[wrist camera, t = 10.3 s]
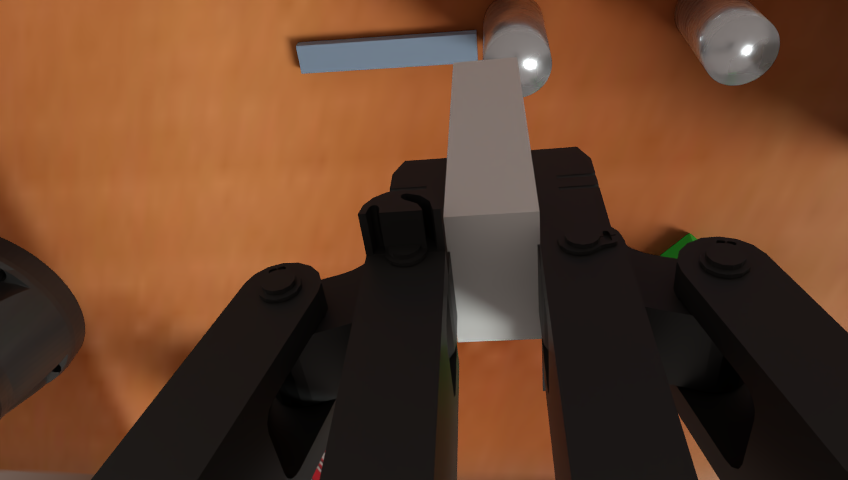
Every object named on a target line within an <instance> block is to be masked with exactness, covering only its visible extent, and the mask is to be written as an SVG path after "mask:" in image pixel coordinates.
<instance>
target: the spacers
mask: <svg viewBox="0 0 848 480" xmlns="http://www.w3.org/2000/svg"><path fill="white" fill-rule="evenodd" d="M674 17H675V23H676V26H677V28H678V30H679V31H680V33H681V34H682V36H683V37H684V39H685V40H686V42H687V43H688V44H689V46H690V47H691V49H692V50H693V52H694V53H695V55H696V56H697V58H698V59H699V61H700V62H701V64H702V65H703V66H704V68H705V69H706V71H707V72H708V74H709V75H710V76H711V77H712V78H713V79H714V80H715V81H717V82H719V83H721V84H725V85H742V84H746V83H749V82H751V81H753V80H755V79H757V78H759V77H760V76H761V75H763V74H764V73H765V72H766V71H767V70H768V69H769V68H770V67H771V66H772V64H773V63H774V61H775V59H776V57H777V55H778V52H779V47H780V38H779V34H778V31H777V30H776V28H775V27H774V25H773V24H772V23H771V22H770V21H769V20H768V19H767V18H765V17H764V16H763V15H762V14H761V13H760V12H759V11H758V10H757V9H756V8H755V7H754V6H753V5H752V4H751V3H750V2H749V1H748V0H678V3H677V5H676V8H675V16H674ZM512 57H517V60H518V67H519V74H520V81H521V87H522V94H523V97H526V96H528V95H531V94H533V93H535V92H536V91H538V90H539V89H540V88H541V87H542V86H543V85H544V84H545V82H546V81H547V79H548V77H549V75H550V72H551V68H552V59H551V54H550V49H549V44H548V39H547V34H546V30H545V25H544V20H543V15H542V12H541V9H540V7H539V6H538V4H537V3H536V2H535V1H534V0H495V1H494V2H493V3H492V4H491V5H490V6H489V8H488V10H487V11H486V14H485V17H484V25H483V60H490V59H501V58H512Z"/></svg>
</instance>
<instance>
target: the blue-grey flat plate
mask: <svg viewBox="0 0 848 480" xmlns="http://www.w3.org/2000/svg"><path fill="white" fill-rule="evenodd" d="M296 49H297V54H298V59H299V63H300V68H301V73H302V74H303V73H319V72H335V71H350V70H366V69H382V68H397V67H413V66H429V65H444V64H453V63H456V62H467V61H478V54H477V34H476V30H469V31H455V32H440V33H426V34H412V35H397V36H383V37H368V38H354V39H340V40H325V41H311V42H298V44H297V45H296Z"/></svg>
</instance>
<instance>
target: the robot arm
mask: <svg viewBox="0 0 848 480" xmlns="http://www.w3.org/2000/svg"><path fill="white" fill-rule="evenodd" d="M358 217H359V222H360V227H361V231H362V236H363V241H364V246H365V251H366V260H365V264H363V265H362V266H360V267H358V268H356V269H354V270H352V271H349V272H346V273H344V274H341V275H337V276H333V277H330V278H326V279H322V280H321V279H320V275H319V272H317V271H316V270H315V269H314V268H313V267H311V266H309V265H305V264H301V263H283V264H279V265H275V266H271V267H268V268H266V269H264V270H262V271H260V272H258V273H256V274H255V275H254V276H252V277H251V278H250V279H249V280H248V281H247V282H246V283H245V284H244V285H243V286H242V288H241V289H240V290H239V291H238V293H237V294H236V295H235V297H234V298H233V299H232V300H231V302H230V303H229V304H228V306H227V307H226V308H225V309H224V311H223V312H222V313H221V314H220V316H219V317H218V318H217V320H216V321H215V322H214V323H213V325H212V326H211V327H210V329H209V330H208V331H207V332H206V334H205V335H204V336H203V337H202V339H201V340H200V341H199V343H198V344H197V345H196V346H195V348H194V349H193V350H192V352H191V353H190V354H189V355H188V357H187V358H186V359H185V360H184V362H183V363H182V364H181V366H180V367H179V368H178V369H177V371H176V372H175V373H174V375H173V376H172V377H171V378H170V380H169V381H168V382H167V383H166V385H165V386H164V387H163V389H162V390H161V391H160V392H159V394H158V395H157V396H156V397H155V399H154V400H153V401H152V403H151V404H150V405H149V406H148V408H147V409H146V410H145V412H144V413H143V414H142V415H141V417H140V418H139V419H138V420H137V422H136V423H135V424H134V426H133V427H132V428H131V429H130V431H129V432H128V433H127V435H126V436H125V437H124V438H123V440H122V441H121V442H120V443H119V445H118V446H117V447H116V449H115V450H114V451H113V452H112V454H111V455H110V456H109V458H108V459H107V460H106V461H105V463H104V464H103V465H102V466H101V468H100V469H99V470H98V472H97V473H96V474H95V475H94V477H93V478H92V479H91V480H311V479H312V477H313V475H314V473H315V471H316V469H317V467H318V465H319V463H320V460H321V458H322V456H323V454H324V452H325V455H324V460H323V465H322V470H321V475H320V479H319V480H457V447H458V396H459V359H458V350H457V337H458V342H473V341H498V340H522V339H542V367H543V391H546V398H547V407H548V416H549V425H550V434H551V443H552V452H553V461H554V470H555V479H556V480H698V478H697V474H696V471H695V468H694V465H693V461H692V458H691V455H690V452H689V448H688V445H687V442H686V439H685V435H684V432H683V429H682V426H681V422H680V419H679V416H680V417H681V419H682V420H683V422H684V424H685V425H686V427H687V428H688V430H689V432H690V433H691V435H692V436H693V438H694V439H695V441H696V443H697V444H698V446H699V447H700V449H701V451H702V452H703V454H704V455H705V457H706V458H707V460H708V462H709V463H710V465H711V466H712V468H713V470H714V471H715V473H716V474H717V476H718V477H719V479H720V480H848V332H847V331H845V330H844V329H843V328H842V327H841V326H840V325H839V324H838V323H837V322H836V321H835V320H834V319H833V318H832V317H831V316H830V315H829V314H828V313H827V312H826V311H825V310H824V309H823V308H822V307H821V306H820V305H819V304H818V303H817V302H815V301H814V300H813V299H812V298H811V297H810V296H809V295H808V294H807V293H806V292H805V291H804V290H803V289H802V288H801V287H800V286H799V285H798V284H797V283H796V282H795V281H794V280H793V279H792V278H791V277H790V276H789V275H788V274H787V273H785V272H784V271H783V270H782V269H781V268H780V267H779V266H778V265H777V264H776V263H775V262H774V261H773V260H772V259H771V258H770V257H769V256H768V255H767V254H766V253H764V252H763V251H761V250H760V249H758V248H757V247H755V246H754V245H752V244H749V243H746V242H743V241H741V240H738V239H732V238H725V237H708V238H700V239H697V240H695V241H692V242H689V243H687V244H686V245H685V246H684V247H683V248H682V249H681V250H680V251H679V254H678V258H677V259H676V258H670V257H663V256H656V255H651V254H647V253H642V252H640V251H637V250H635V249H632V248H630V247H628V246H627V245H626V244H625V240H624V239H623V237H622V236H621V234H620V233H619V231H617V230H615V229H614V228H612V227H611V225H610V222H609V219H608V215H607V212H606V208H605V205H604V202H603V198H602V195H601V191H600V188H599V186H598V181H597V178H596V176H595V171H594V167H593V164H592V161H591V158H590V157H588V156H587V155H586V154H585V153H584V152H582V151H581V150H580V149H579V148H578V147H568V148H554V149H540V150H531V149H530V142H529V135H528V129H527V122H526V115H525V108H524V101H523V94H522V87H521V81H520V74H519V67H518V60H517V57H512V58H501V59H490V60H478V61H467V62H456V63H453V77H452V92H451V107H450V123H449V138H448V153H447V158H441V159H428V160H414V161H405V162H404V163H403V164H402V165H401V166H400V167H399V168H398V169H397V170H396V171H395V172H394V174H393V175H392V180H391V186H390V191H389V192H387V193H384V194H382V195H379V196H376V197H374V198H372V199H371V200H370V201H368V202H367V203H366V204H364V205H363V206H362V208H361V210H360V212H359V213H358ZM84 337H85V322H84V317H83V314H82V311H81V308H80V306H79V304H78V302H77V300H76V298H75V297H74V295H73V294H72V292H71V291H70V289H69V288H68V287H67V285H66V284H65V283H64V282H63V281H62V279H61V278H60V277H59V276H58V275H57V274H56V273H55V272H54V271H53V270H51V269H50V268H49V267H48V266H47V265H46V264H44V263H43V262H42V261H41V260H39V259H38V258H37V257H35V256H34V255H32V254H31V253H29V252H28V251H26V250H24V249H23V248H21V247H19V246H17V245H16V244H14V243H12V242H10V241H8V240H5V239H3V238H1V237H0V419H1V418H2V417H3V416H4V415H5V414H7V413H8V412H9V411H11V410H12V409H14V408H15V407H16V406H18V405H19V404H20V403H22V402H23V401H24V400H26V399H27V398H29V397H30V396H31V395H33V394H34V393H35V392H37V391H38V390H39V389H41V388H42V387H43V386H44V385H45V384H47V383H48V382H50V381H52V380H53V379H55V378H56V377H57V376H59V375H60V374H61V373H62V372H63V371H64V370H65V369H66V368H67V367H68V365H69V364H70V363H71V361H72V360H73V358H74V357H75V355H76V354H77V352H78V351H79V350H80V348H81V346H82V344H83V341H84ZM678 414H679V416H678ZM325 450H326V451H325Z"/></svg>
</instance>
